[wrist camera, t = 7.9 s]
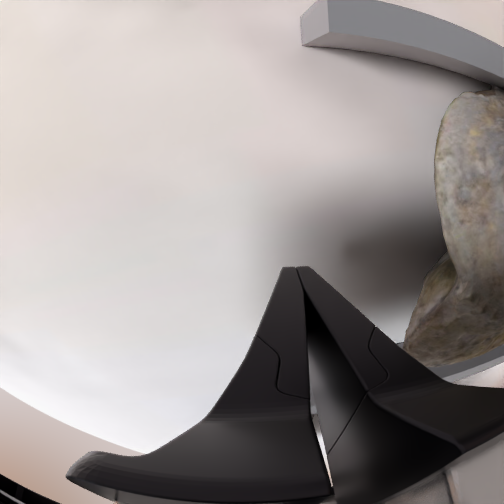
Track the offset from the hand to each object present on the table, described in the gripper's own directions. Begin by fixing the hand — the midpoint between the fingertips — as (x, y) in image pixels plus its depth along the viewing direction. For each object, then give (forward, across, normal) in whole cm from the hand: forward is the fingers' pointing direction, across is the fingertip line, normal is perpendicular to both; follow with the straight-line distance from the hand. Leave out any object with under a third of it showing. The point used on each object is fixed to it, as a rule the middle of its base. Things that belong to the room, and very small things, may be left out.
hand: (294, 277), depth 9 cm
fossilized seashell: (+2, -8, -1) cm, 9 cm away
